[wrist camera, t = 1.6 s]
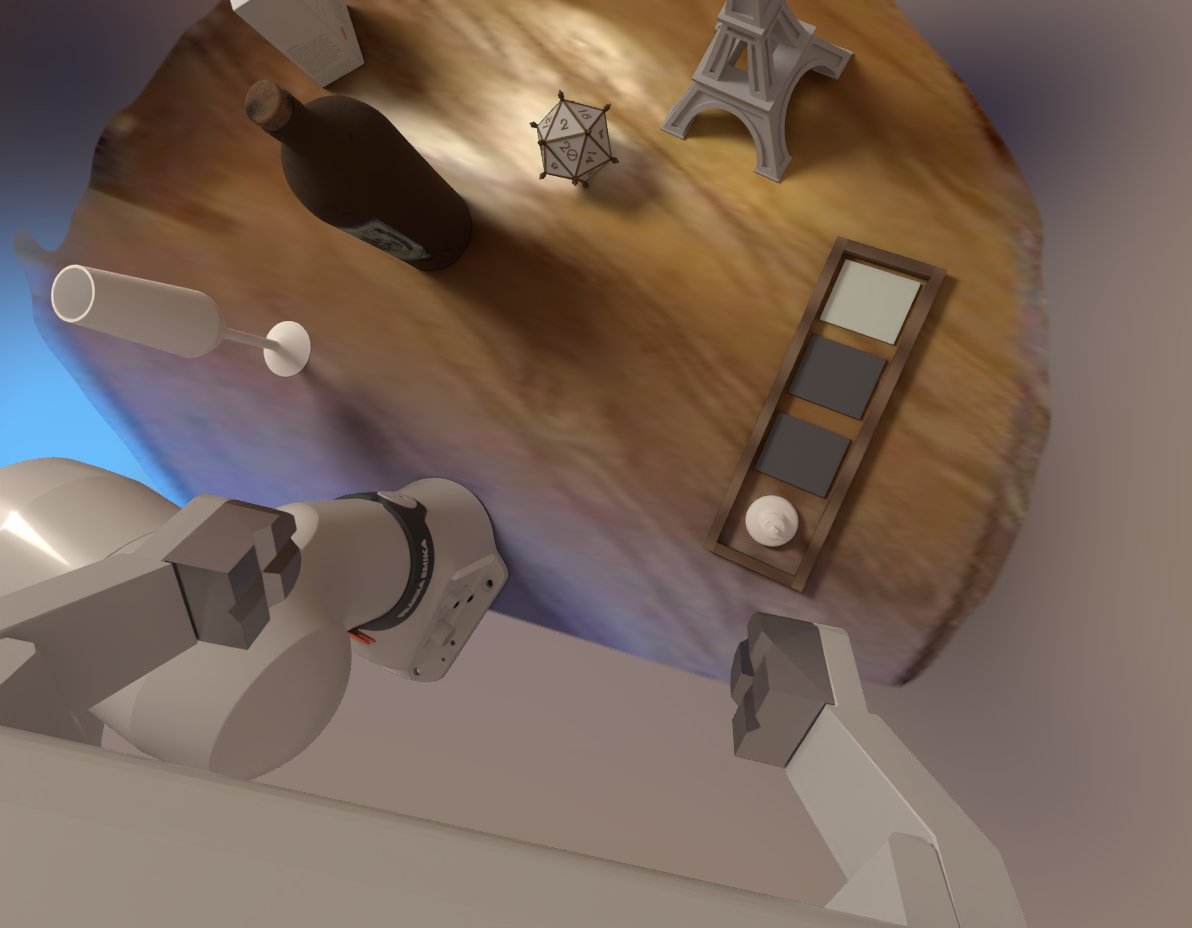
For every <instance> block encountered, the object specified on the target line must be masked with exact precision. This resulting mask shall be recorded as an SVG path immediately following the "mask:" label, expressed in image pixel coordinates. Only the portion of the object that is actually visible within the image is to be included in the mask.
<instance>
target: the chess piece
mask: <svg viewBox="0 0 1192 928" xmlns="http://www.w3.org/2000/svg"><path fill="white" fill-rule="evenodd" d="M746 527H747V530H748V532H749V534H750V535H751V537H752V538H753V539H754V540H755V541H757V542H758V543H760V544H762V545H765V546H771V547H774V546H780V545H783V544H785V543H787V542H788V541H790V540H791V539H792V538H793V536H794V535H795V533H796V531H797V529H798V515H797V512H796V510H795V508H794V507H793V505H792V504H791V503H790V502H788V501H787V500H786V499H784V498H781V497H778V496H765V497H762V498H759V499H758V500H756V501H755V502H754V503H753V504H752V505H751V506H750V507H749V509H748V511H747V514H746Z"/></svg>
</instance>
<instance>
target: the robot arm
mask: <svg viewBox="0 0 1192 928" xmlns="http://www.w3.org/2000/svg"><path fill="white" fill-rule="evenodd" d="M507 579H508V570H507V567H506V565H505V563H504V561H503V559H502V558H501V556H500V555H499V553H498V551H497V549H496V545H495V541H494V535H493V530H492V526H491V522H490V520H489V517H488V515H487V513H486V511H485V509H484V507H483V506H482V504H481V503H480V502H479V500H478V499H477V498H476V497H475V496H474V495H473V494H472V493H471V492H470V491H469V490H467V489H466V488H465V487H463V486H461V485H459V484H458V483H455V482H453V481H450V480H446V479H441V478H426V479H421V480H418V481H415V482H412V483H410V484H408V485H407V486H405V487H403V488H401V489H399V490H397V491H394V492H391V491H379V492H368V493H357V494H349V495H344V496H341V497H338V498H336V499H334V500H324V501H310V502H296V503H290V504H286V505H283V506H280V507H278V508H276V509H272V508H268V507H264V506H260V505H256V504H251V503H247V502H243V501H239V500H235V499H233V500H232V499H228V498H224V497H220V496H216V495H211V494H207V493H205V494H202V495H199V496H196V497H195V498H194V499H193V500H191V501H190V502H189V503H188V504H187V505H186V506H185V507H184V508H181V507H179V506H177V505H176V504H174V503H173V502H171V501H170V500H168V499H166V498H165V497H163V496H162V495H160V494H159V493H157V492H155V491H154V490H152V489H151V488H149V487H148V486H146V485H144V484H143V483H141V482H139V481H136V480H133V479H131V478H128V477H125V476H122V475H120V474H117V473H114V472H111V471H108V470H106V469H103V468H99V467H96V466H93V465H89V464H86V463H83V462H80V461H76V460H72V459H67V458H55V457H52V458H38V459H32V460H27V461H23V462H19V463H15V464H12V465H9V466H6V467H4V468H1V469H0V928H1028V927H1027V924H1026V921H1025V919H1024V916H1023V913H1022V911H1021V908H1020V905H1019V903H1018V900H1017V898H1016V895H1015V892H1014V889H1013V887H1012V884H1011V881H1010V879H1009V876H1008V874H1007V871H1006V868H1005V866H1004V863H1003V860H1002V858H1001V855H1000V853H999V851H998V850H997V849H996V848H995V847H994V846H993V844H992V843H991V842H990V841H989V840H988V839H987V838H986V837H985V835H984V834H983V833H982V832H981V831H980V830H979V829H978V828H977V827H976V825H975V824H974V823H973V822H972V821H971V820H970V818H968V816H967V815H966V814H965V813H964V812H963V811H962V809H961V808H960V807H959V806H958V805H957V804H956V803H955V801H954V800H953V799H952V798H951V797H950V796H949V795H948V794H947V793H946V791H945V790H944V789H943V788H942V787H941V786H940V785H939V784H938V782H937V781H936V780H935V779H934V778H933V777H932V776H931V774H930V773H929V772H928V771H927V770H926V769H925V768H924V766H923V765H922V764H921V763H920V762H919V761H918V760H917V759H916V758H915V756H914V755H913V754H912V753H911V752H910V751H909V749H907V747H906V746H905V745H904V744H903V743H902V742H901V740H900V739H899V738H898V737H897V736H896V735H895V734H894V733H893V731H892V730H891V729H890V728H889V727H888V726H887V725H886V724H885V722H884V721H883V720H882V719H881V718H880V717H879V716H878V715H875V714H870V713H869V710H868V706H867V703H866V699H865V695H864V692H863V688H862V684H861V680H860V677H859V673H858V669H857V665H856V662H855V658H854V654H853V651H852V647H851V643H850V640H849V636H848V634H847V632H846V631H845V630H844V629H841V628H836V627H831V626H826V625H821V624H817V623H814V624H813V623H811V622H807V621H802V620H797V619H792V618H787V617H782V616H777V615H772V614H767V613H762V612H757V611H756V612H755V613H754V614H753V615H752V617H751V619H750V621H749V623H748V625H747V629H748V639H746V640H744V641H742V642H740V643H739V645H738V648H737V650H736V653H735V655H734V660H733V665H732V669H731V683H730V684H731V697H732V698H733V700H734V701H735V702H736V704H737V705H738V709H737V711H736V713H735V715H734V717H733V719H732V722H733V738H734V752H735V756H736V757H740V758H744V759H748V760H753V761H757V762H761V763H765V764H769V765H773V766H777V767H781V768H785V770H784V771H785V773H786V775H787V776H788V778H789V780H790V782H791V784H792V785H793V787H794V789H795V790H796V792H797V794H798V795H799V797H800V798H801V800H802V802H803V804H804V806H805V808H806V809H807V811H808V813H809V814H810V816H811V818H812V819H813V821H814V823H815V825H816V826H817V828H818V830H819V831H820V833H821V835H822V837H823V838H824V840H825V842H826V843H827V845H828V847H829V849H830V850H831V852H832V854H833V856H834V857H835V859H836V861H837V862H838V864H839V866H840V868H841V869H842V871H843V873H844V875H845V876H846V878H847V880H848V882H847V883H846V884H845V885H844V886H843V887H842V888H841V889H840V890H839V892H838V893H837V894H836V895H835V896H834V897H833V898H832V899H831V900H830V901H829V902H828V904H827V905H826V906H825V907H819V906H815V905H810V904H806V903H801V902H797V901H792V900H787V899H783V898H778V897H774V896H769V895H765V894H760V893H756V892H751V891H747V890H742V889H738V888H733V887H729V886H724V885H720V884H715V883H710V882H706V881H702V880H697V879H693V878H688V877H684V876H679V875H675V874H670V873H666V872H660V871H657V870H652V869H648V868H643V867H639V866H634V865H629V864H625V863H621V862H616V861H612V860H607V859H602V858H598V857H594V856H589V855H585V854H580V853H575V852H571V851H567V850H562V849H557V848H553V847H548V846H544V845H539V844H534V843H530V842H526V841H521V840H517V839H512V838H508V837H503V836H499V835H494V834H490V833H485V832H481V831H476V830H471V829H467V828H463V827H458V826H454V825H449V824H445V823H440V822H436V821H431V820H427V819H422V818H418V817H413V816H409V815H404V814H400V813H395V812H391V811H387V810H381V809H377V808H373V807H368V806H364V805H359V804H355V803H350V802H345V801H341V800H337V799H332V798H327V797H323V796H318V795H314V794H310V793H305V792H300V791H296V790H291V789H286V788H282V787H278V786H273V785H268V784H264V783H260V782H255V781H251V779H254V778H257V777H259V776H262V775H264V774H267V773H269V772H271V771H273V770H275V769H276V768H278V767H280V766H282V765H283V764H285V763H287V762H288V761H290V760H291V759H293V758H294V757H296V756H297V755H298V754H300V753H301V752H302V751H303V750H305V749H306V748H307V747H308V746H309V745H310V744H311V743H312V742H313V741H314V740H315V739H316V738H317V737H318V736H319V735H320V733H321V732H322V731H323V730H324V729H325V727H326V726H327V725H328V723H329V722H330V720H331V719H332V717H333V716H334V714H335V712H336V710H337V709H338V707H339V705H340V703H341V701H342V698H343V696H344V693H345V690H346V687H347V684H348V680H349V675H350V670H351V657H352V652H351V650H353V651H354V652H355V653H357V654H359V655H360V656H362V657H364V658H365V659H367V660H369V661H371V662H373V663H376V664H377V665H379V666H380V667H382V668H384V669H386V670H388V671H390V672H392V673H394V674H396V675H398V676H401V677H404V678H407V679H410V680H414V681H421V682H431V681H437V680H439V679H441V678H443V677H444V675H445V674H446V673H447V671H448V670H449V668H450V667H451V665H452V664H453V662H454V661H455V659H456V657H457V656H458V655H459V653H460V652H461V650H462V648H463V647H464V645H465V644H466V642H467V641H468V639H469V638H470V636H471V635H472V633H473V632H474V630H475V629H476V627H477V625H478V624H479V622H480V621H481V619H482V618H483V616H484V615H485V613H486V612H487V610H488V609H489V607H490V606H491V604H492V603H493V601H494V599H495V598H496V596H497V595H498V593H499V592H500V590H501V589H502V587H503V586H504V584H505V583H506V581H507ZM489 580H491V581H492V582H493V586H492V587H491V586H490V585H489V584H488V581H489ZM454 641H455V642H454ZM417 668H418V669H419V670H420V674H419V673H418V672H417V670H416V669H417ZM104 723H105V724H106V725H108V726H109V727H110V728H111V729H113V730H114V731H115V732H117V733H118V734H119V735H120V736H122V737H123V738H124V739H125V740H127V741H128V742H129V743H131V744H132V745H133V746H134V747H136V748H137V749H138V750H140V751H142V752H143V753H146V754H148V755H150V756H153V757H155V758H157V759H159V760H155V759H151V758H146V757H142V756H138V755H133V754H129V753H124V752H119V751H115V750H111V749H106V748H102V747H101V741H102V733H103V728H104ZM160 760H162V761H160Z"/></svg>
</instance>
